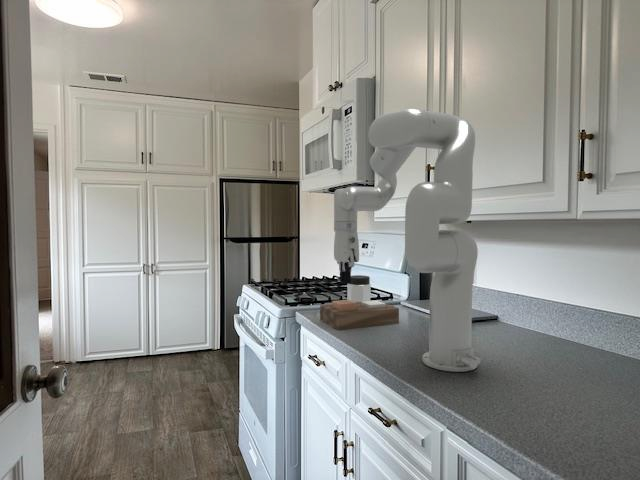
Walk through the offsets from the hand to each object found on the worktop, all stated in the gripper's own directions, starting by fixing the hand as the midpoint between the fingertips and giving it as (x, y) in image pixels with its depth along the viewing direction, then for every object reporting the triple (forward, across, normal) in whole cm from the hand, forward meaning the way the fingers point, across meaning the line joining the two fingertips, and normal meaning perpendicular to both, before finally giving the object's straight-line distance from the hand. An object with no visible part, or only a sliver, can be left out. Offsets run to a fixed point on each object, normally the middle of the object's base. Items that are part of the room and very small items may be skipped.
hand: (345, 283), depth 139 cm
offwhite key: (+11, 0, -11) cm, 15 cm away
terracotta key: (+10, 0, 0) cm, 10 cm away
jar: (+13, +19, -15) cm, 28 cm away
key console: (+13, 0, -5) cm, 14 cm away
